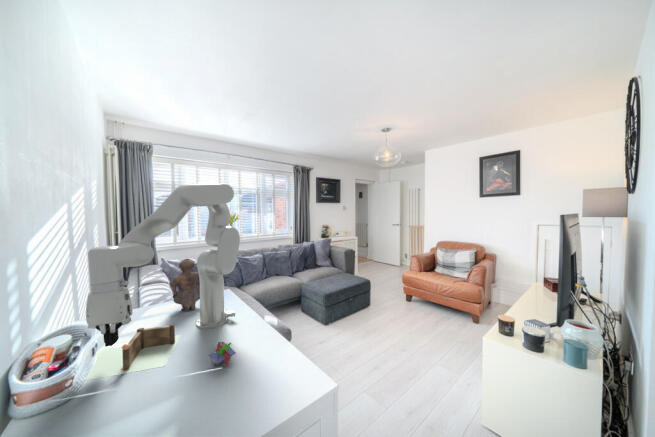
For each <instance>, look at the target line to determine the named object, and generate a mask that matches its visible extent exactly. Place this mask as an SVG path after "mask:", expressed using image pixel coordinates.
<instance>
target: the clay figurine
mask: <svg viewBox="0 0 655 437" xmlns="http://www.w3.org/2000/svg"><path fill="white" fill-rule="evenodd" d="M195 264H196V263H195V261H194V260H193V259H191V258H185V259H183V260H181V261H180V262H179V264H178V268H179V269H180V270H181V271H182V273H180V274H177V275H175V276H174V277H173V279H172V285H171V286H172V291H173V295H172V299H173V300H172V301H173V302H174V303H175V304H177V305H180V306H181V307H182V308H181V311H184V312H186V311H189V309H191V310H196V308H197V307H196V303H197V302H198V301H200V282H199V273H198V271H192V269H193V268H194V267H195ZM177 289H178V290H177Z"/></svg>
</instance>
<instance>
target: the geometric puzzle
mask: <svg viewBox="0 0 655 437" xmlns="http://www.w3.org/2000/svg"><path fill="white" fill-rule="evenodd" d="M231 345H233V344H232V342H230V341H229V342H228V341H227V342H224V341H220V342H219V341H218V342H217V343H216V345H215V351H214V352H211V354H209V355H208V356H209V358H210V359H211V360H213V362H214V366H215V367H216V366H217V365H220V363H222V362H223V363H224V364H225V365H223V364H222V367H225V366H226V367H229V366H230V365H229V364H230V360H231V359H232V358H231V357H233V356H235V355H236V354H237V352H236V351H235V349H234V348H232V346H231Z"/></svg>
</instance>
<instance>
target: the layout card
mask: <svg viewBox="0 0 655 437" xmlns="http://www.w3.org/2000/svg"><path fill="white" fill-rule="evenodd" d="M181 336H182V334H175V343H174V344H170V343H168V344H162V345H156V346H149V347H144V348H143V349H141V350H140V351H139V353H138V354H137V356H136V357H135V359H134V360H133V362H132V363H131V365H130V368H129V369H127V370H123V352H122V346H121V347H118V348H117V347H116V348H113V347H112V348H108V347H107V348H108V349H107V348H105V347H104V348H103V349H102V350H101V351H100V352H99V353H98V354H97V355H96V356H97V360H96V363H95V365H94V367H93V369H92V370H91V372H90V373H89V375H88V376H87V378H86V379H85V381H91V380H96V379H97V380H98V379H103V378H107V377H113V376H118V375H119V376H120V375H124V374H125V375H126V374H129V373H136V372H141V371H147V370H153V369H156V368H158V369H159V368H163V367H164V368H165V367H166V364H167V363H168V361H169V359H170V356H171V355H172V353H173V351H174V349H175V348H176V346H177V343H178V342H179V340H180V338H181ZM85 381H84V382H85Z"/></svg>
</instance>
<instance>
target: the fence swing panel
mask: <svg viewBox="0 0 655 437" xmlns="http://www.w3.org/2000/svg"><path fill="white" fill-rule="evenodd" d="M128 342H129V343H128V344H124V345H123V346H122V352H123V370H127V369H129V368H130V365H131V363H132V362H133V360H134V359H135V357H136V356H137V354H138V353H139V351H140V350H141V332H137V331H136V333H135V334H134V336H132V338H131V339H130V340H129V341H128Z"/></svg>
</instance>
